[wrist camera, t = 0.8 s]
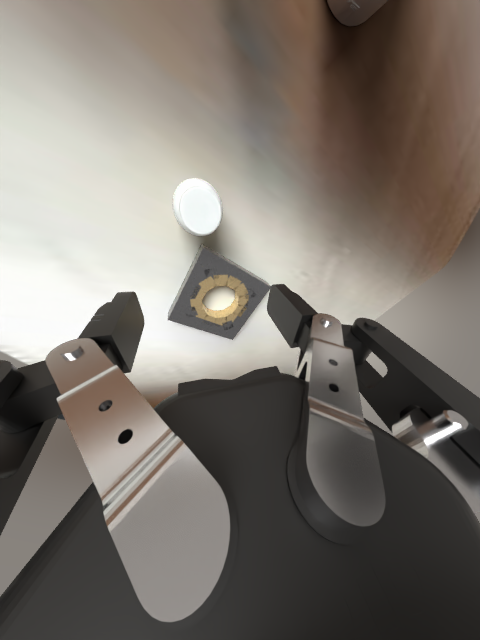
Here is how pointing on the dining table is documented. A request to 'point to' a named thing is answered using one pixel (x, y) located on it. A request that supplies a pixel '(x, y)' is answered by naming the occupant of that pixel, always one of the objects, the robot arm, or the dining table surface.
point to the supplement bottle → (197, 207)
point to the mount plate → (207, 275)
